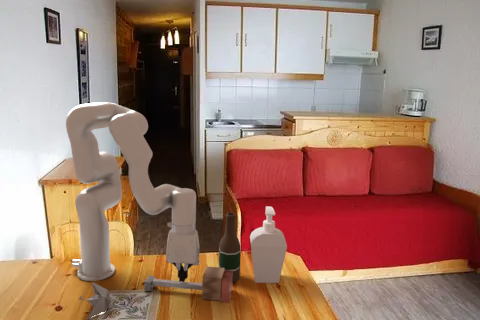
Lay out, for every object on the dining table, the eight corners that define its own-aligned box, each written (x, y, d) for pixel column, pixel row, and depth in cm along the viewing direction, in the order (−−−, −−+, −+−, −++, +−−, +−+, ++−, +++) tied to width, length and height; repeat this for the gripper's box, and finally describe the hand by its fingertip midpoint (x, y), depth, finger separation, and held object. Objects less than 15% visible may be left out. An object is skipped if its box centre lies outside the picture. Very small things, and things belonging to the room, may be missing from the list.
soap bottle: (281, 270, 149) (285, 204, 143) (284, 284, 139) (289, 214, 133) (248, 269, 148) (251, 203, 143) (249, 283, 138) (252, 213, 133)
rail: (142, 294, 129) (142, 274, 128) (150, 282, 137) (150, 263, 135) (228, 302, 126) (229, 282, 125) (232, 289, 134) (232, 270, 133)
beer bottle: (237, 284, 138) (239, 218, 133) (215, 281, 139) (217, 216, 134) (241, 274, 145) (244, 211, 140) (221, 271, 146) (222, 209, 142)
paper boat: (110, 316, 115) (76, 313, 112) (105, 326, 119) (72, 324, 115) (114, 278, 124) (83, 275, 120) (110, 289, 127) (79, 286, 124)
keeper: (202, 298, 127) (202, 276, 126) (206, 287, 134) (206, 266, 133) (220, 300, 127) (221, 278, 125) (224, 289, 134) (224, 267, 132)
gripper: (157, 229, 124) (157, 283, 128) (204, 233, 123) (202, 287, 127) (164, 221, 132) (164, 272, 135) (208, 224, 130) (207, 276, 134)
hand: (182, 279), depth 131 cm, fingers closed
